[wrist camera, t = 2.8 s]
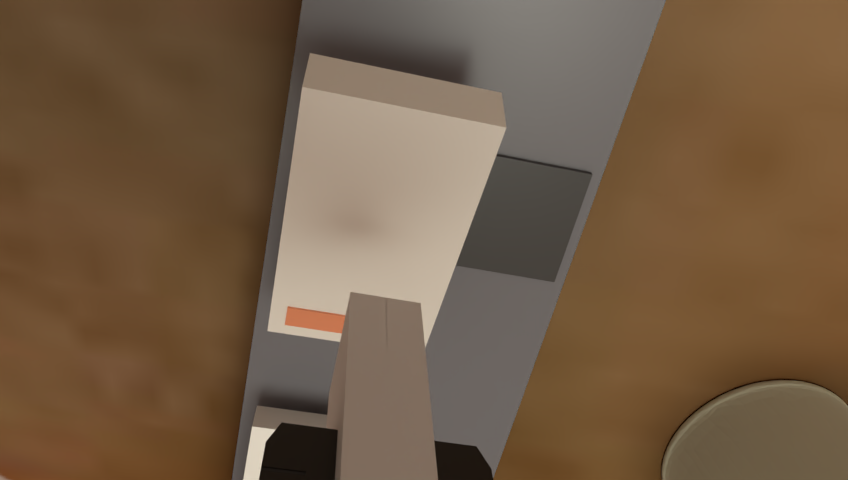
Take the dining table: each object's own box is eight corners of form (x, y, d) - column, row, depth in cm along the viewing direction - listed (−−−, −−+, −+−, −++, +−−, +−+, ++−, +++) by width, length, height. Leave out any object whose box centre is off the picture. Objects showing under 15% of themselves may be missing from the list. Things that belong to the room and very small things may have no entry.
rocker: (309, 52, 19) (301, 88, 18) (501, 92, 20) (506, 129, 18) (274, 293, 25) (267, 332, 24) (423, 317, 26) (422, 355, 24)
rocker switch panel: (359, -330, 21) (354, -379, 16) (694, -233, 22) (779, -252, 18) (229, 531, 36) (207, 634, 31) (433, 553, 37) (441, 654, 33)
